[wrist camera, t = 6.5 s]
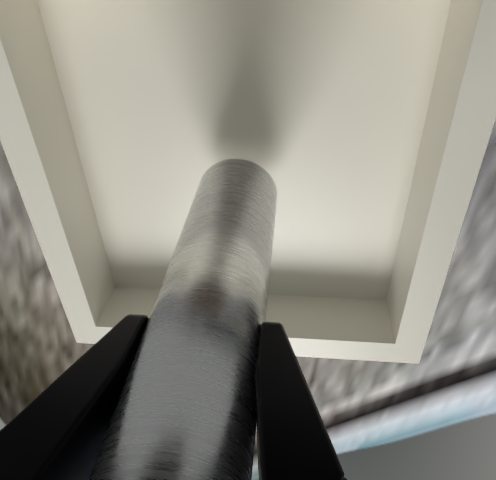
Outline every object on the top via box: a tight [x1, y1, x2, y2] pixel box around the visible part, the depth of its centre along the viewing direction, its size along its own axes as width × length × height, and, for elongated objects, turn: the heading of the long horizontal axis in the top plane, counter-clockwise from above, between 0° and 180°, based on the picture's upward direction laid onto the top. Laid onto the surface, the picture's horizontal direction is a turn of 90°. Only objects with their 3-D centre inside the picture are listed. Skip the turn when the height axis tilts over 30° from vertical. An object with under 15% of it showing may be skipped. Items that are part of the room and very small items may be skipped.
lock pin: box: [89, 159, 277, 480], centre depth 10 cm, size 2×2×10 cm
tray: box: [0, 0, 496, 364], centre depth 14 cm, size 13×13×3 cm
